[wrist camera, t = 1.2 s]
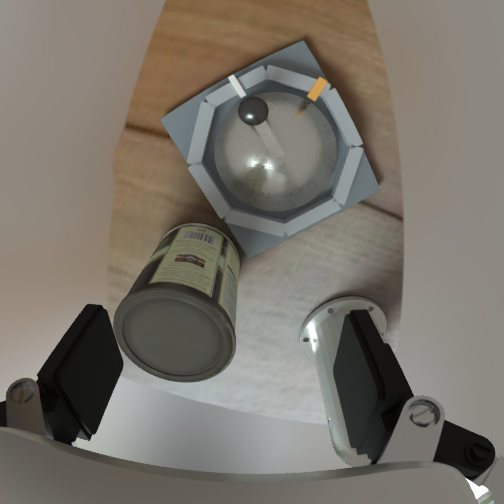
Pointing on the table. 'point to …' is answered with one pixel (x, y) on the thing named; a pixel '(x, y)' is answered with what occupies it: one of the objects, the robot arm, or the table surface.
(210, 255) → the coffee can
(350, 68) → the table surface
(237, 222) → the panel
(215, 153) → the dial
